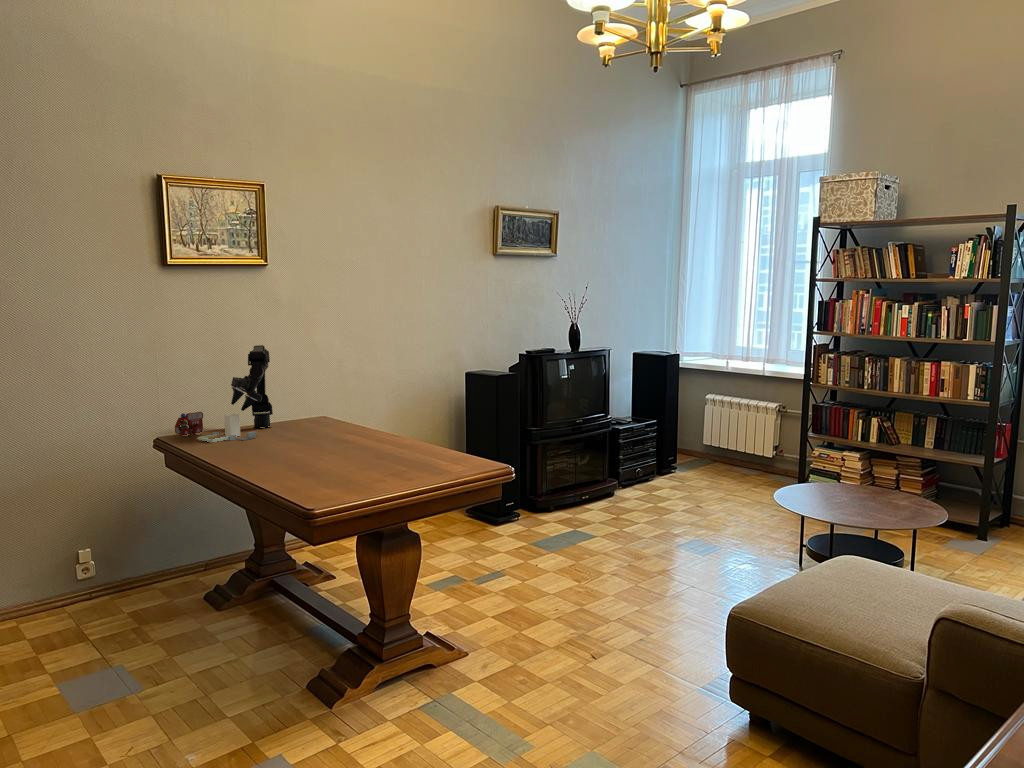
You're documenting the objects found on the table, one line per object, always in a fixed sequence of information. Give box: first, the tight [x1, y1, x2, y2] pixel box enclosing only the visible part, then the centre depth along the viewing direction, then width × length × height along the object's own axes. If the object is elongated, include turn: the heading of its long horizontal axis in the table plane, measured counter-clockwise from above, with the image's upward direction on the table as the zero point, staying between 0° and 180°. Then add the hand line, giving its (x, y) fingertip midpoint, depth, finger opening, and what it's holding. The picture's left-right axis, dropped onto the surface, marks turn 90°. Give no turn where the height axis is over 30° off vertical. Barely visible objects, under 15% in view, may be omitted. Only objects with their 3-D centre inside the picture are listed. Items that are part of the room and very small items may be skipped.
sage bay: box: [196, 434, 230, 444], centre depth 328 cm, size 9×11×2 cm
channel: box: [210, 431, 257, 442], centre depth 335 cm, size 13×25×2 cm, turn 52°
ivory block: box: [223, 413, 241, 438], centre depth 335 cm, size 5×5×10 cm
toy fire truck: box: [174, 411, 204, 436], centre depth 342 cm, size 7×12×10 cm, turn 129°
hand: (236, 407), depth 341 cm, fingers open, 9 cm apart
